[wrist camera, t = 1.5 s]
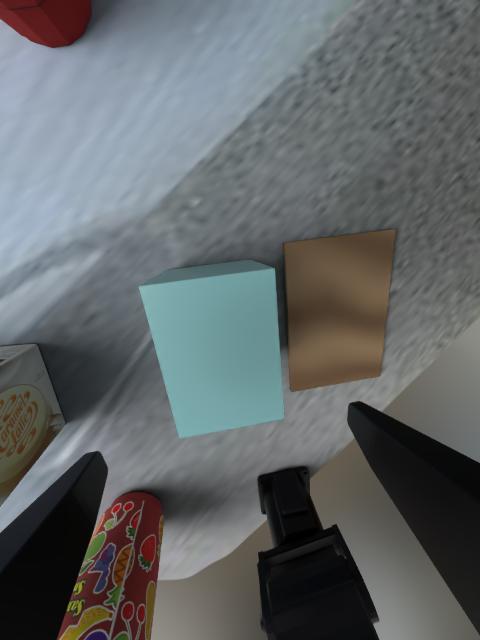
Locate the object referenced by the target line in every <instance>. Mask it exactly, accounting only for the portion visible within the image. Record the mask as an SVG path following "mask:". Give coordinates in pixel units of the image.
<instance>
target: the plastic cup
mask: <svg viewBox="0 0 480 640" xmlns="http://www.w3.org/2000/svg"><path fill="white" fill-rule="evenodd" d="M90 16H91V0H0V19H1V20H2V21H4V22H5V23H6V24H8V25H9V26H10V27H12V28H13V29H14V30H15V31H17V32H18V33H19V34H21V35H22V36H24V37H26V38H28V39H29V40H30V41H32V42H35V43H38V44H41V45H45V46H48V47H51V48H54V47H60V46H67V45H70V44H72V43H73V42H74V41H75V40H76V39H77V38H79V37H80V36H81V35H82V34H83V33H84V31H85V28H86V26H87V23H88V21H89V18H90Z"/></svg>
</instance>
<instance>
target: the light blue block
mask: <svg viewBox="0 0 480 640" xmlns="http://www.w3.org/2000/svg"><path fill="white" fill-rule="evenodd" d="M139 289H140V292H141V296H142V300H143V304H144V308H145V311H146V315H147V319H148V323H149V326H150V330H151V334H152V338H153V341H154V345H155V349H156V353H157V356H158V360H159V364H160V368H161V371H162V375H163V379H164V383H165V387H166V390H167V394H168V398H169V402H170V405H171V409H172V413H173V417H174V420H175V424H176V428H177V432H178V435H179V439H180V438H185V437H191V436H196V435H201V434H207V433H212V432H217V431H222V430H228V429H233V428H238V427H244V426H249V425H254V424H260V423H265V422H270V421H276V420H281V419H284V409H283V393H282V377H281V361H280V345H279V329H278V313H277V297H276V281H275V268H272V267H270V266H267V265H264V264H261V263H259V262H256V261H253V260H250V259H248V260H240V261H233V262H225V263H217V264H209V265H201V266H194V267H186V268H178V269H170V270H167V271H165V272H163V273H161V274H160V275H158V276H156V277H154V278H153V279H151V280H149V281H147V282H146V283H144V284H142V285H140V286H139Z"/></svg>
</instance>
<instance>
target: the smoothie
mask: <svg viewBox="0 0 480 640" xmlns="http://www.w3.org/2000/svg"><path fill="white" fill-rule="evenodd" d="M163 526H164V515H163V513H162V508H161V503H160V501H159V500H158V499H157V498H156V497H154V496H153V495H151V494H148V493H145V492H132V493H127V494H125V495H122V496H120V497H119V498H117V499H116V500H115V501H114V503H113V504H112V506H111V507H110V508H109V509H107V510H106V511H105V513H104V514H103V516H102V518H101V520H100V522H99V524H98V527H97V529H96V531H95V533H94V535H93V537H92V540H91V542H90V544H89V546H88V549H87V552H86V555H85V558H84V561H83V564H82V567H81V570H80V573H79V576H78V579H77V582H76V585H75V588H74V591H73V594H72V597H71V600H70V603H69V606H68V609H67V612H66V614H65V617H64V620H63V623H62V626H61V629H60V632H59V635H58V638H57V640H150V639H151V630H152V621H153V613H154V604H155V596H156V587H157V578H158V570H159V561H160V552H161V544H162V535H163Z"/></svg>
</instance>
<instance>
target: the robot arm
mask: <svg viewBox="0 0 480 640" xmlns="http://www.w3.org/2000/svg"><path fill="white" fill-rule="evenodd" d="M347 422H348V425H349V427H350V429H351V431H352V433H353V435H354V437H355V439H356V440H357V442H358V444H359V446H360V448H361V450H362V451H363V454H364V455H365V457H366V459H367V461H368V463H369V465H370V467H371V468H372V470H373V472H374V473H375V475H376V476H377V478H378V479H379V481H380V483H381V484H382V486H383V487H384V489H385V490H386V492H387V493H388V495H389V496H390V498H391V499H392V501H393V502H394V504H395V506H396V507H397V509H398V510H399V512H400V513H401V515H402V516H403V518H404V519H405V521H406V522H407V524H408V526H409V527H410V529H411V530H412V532H413V533H414V534H415V536H416V538H417V539H418V541H419V543H420V544H421V546H422V547H423V549H424V550H425V552H426V553H427V555H428V556H429V558H430V559H431V561H432V562H433V564H434V566H435V567H436V568H437V570H438V572H439V573H440V575H441V576H442V578H443V579H444V581H445V583H446V584H447V586H448V587H449V588H450V590H451V592H452V593H453V595H454V596H455V598H456V599H457V601H458V602H459V604H460V605H461V607H462V609H463V610H464V611H465V613H466V615H467V616H468V618H469V619H470V621H471V622H472V624H473V626H474V627H475V629H476V630H477V632H478V633H479V635H480V463H479V462H476V461H475V460H473V459H471V458H469V457H467V456H465V455H463V454H461V453H459V452H457V451H456V450H454V449H452V448H450V447H448V446H446V445H444V444H442V443H440V442H438V441H436V440H434V439H432V438H430V437H429V436H427V435H425V434H423V433H421V432H419V431H417V430H415V429H413V428H411V427H409V426H407V425H405V424H404V423H402V422H400V421H398V420H396V419H394V418H392V417H390V416H388V415H386V414H384V413H382V412H380V411H378V410H377V409H375V408H373V407H371V406H369V405H367V404H365V403H363V402H360V401H357V402H352V403H350V404H349V405H348V416H347ZM107 475H108V467H107V465H106V463H105V460H104V458H103V456H102V454H101V452H99V451H95V452H90V453H86V454H85V455H83V456H82V457H81V458H80V459H79V460H78V461H77V462H76V463H75V464H74V465H73V466H71V467H70V468H69V469H68V470H67V471H66V472H65V473H64V474H63V475H62V476H61V477H60V478H59V479H58V480H56V481H55V482H54V483H53V484H52V485H51V486H50V487H49V488H48V489H47V490H46V491H45V492H44V493H43V494H41V495H40V496H39V497H38V498H37V499H36V500H35V501H34V502H33V503H32V504H31V505H30V506H29V507H28V508H26V509H25V510H24V511H23V512H22V513H21V514H20V515H19V516H18V517H17V518H16V519H15V520H14V521H13V522H11V523H10V524H9V525H8V526H7V527H6V528H5V529H4V530H3V531H2V532H1V533H0V640H57V638H58V635H59V632H60V629H61V626H62V623H63V620H64V617H65V614H66V612H67V609H68V606H69V603H70V600H71V597H72V594H73V591H74V588H75V585H76V582H77V579H78V576H79V573H80V570H81V567H82V564H83V561H84V558H85V555H86V552H87V549H88V546H89V543H90V540H91V537H92V534H93V531H94V527H95V524H96V520H97V516H98V512H99V508H100V504H101V500H102V495H103V491H104V487H105V483H106V479H107ZM257 481H258V489H259V497H260V505H261V512H262V514H266V515H267V519H268V524H269V529H270V534H271V538H272V543H273V549H270V550H267V551H264V552H263V551H261V552H259V553H258V556H259V562H258V564H257V567H258V575H259V583H260V623H261V629H262V631H263V632H264V633H265V634H266V635H267V636H268V640H379V638H378V635H377V633H376V630H375V628H374V626H373V624H374V623H377V622H379V618H378V615H377V612H376V609H375V606H374V604H373V601H372V599H371V597H370V594H369V592H368V590H367V587H366V585H365V583H364V580H363V578H362V576H361V574H360V571H359V570H358V567H357V565H356V563H355V561H354V559H353V557H352V555H351V553H350V551H349V549H348V547H347V545H346V543H345V541H344V539H343V537H342V534H341V533H340V530H339V528H338V526H337V524H335V525H332V527H330V528H327V529H325V530H324V529H323V527H322V524H321V522H320V519H319V517H318V514H317V512H316V509H315V507H314V504H313V501H312V499H311V496H310V478H309V470H308V468H307V467H303V468H298V469H293V470H288V471H283V472H278V473H274V474H269V475H264V476H260V477H258V479H257Z"/></svg>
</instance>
